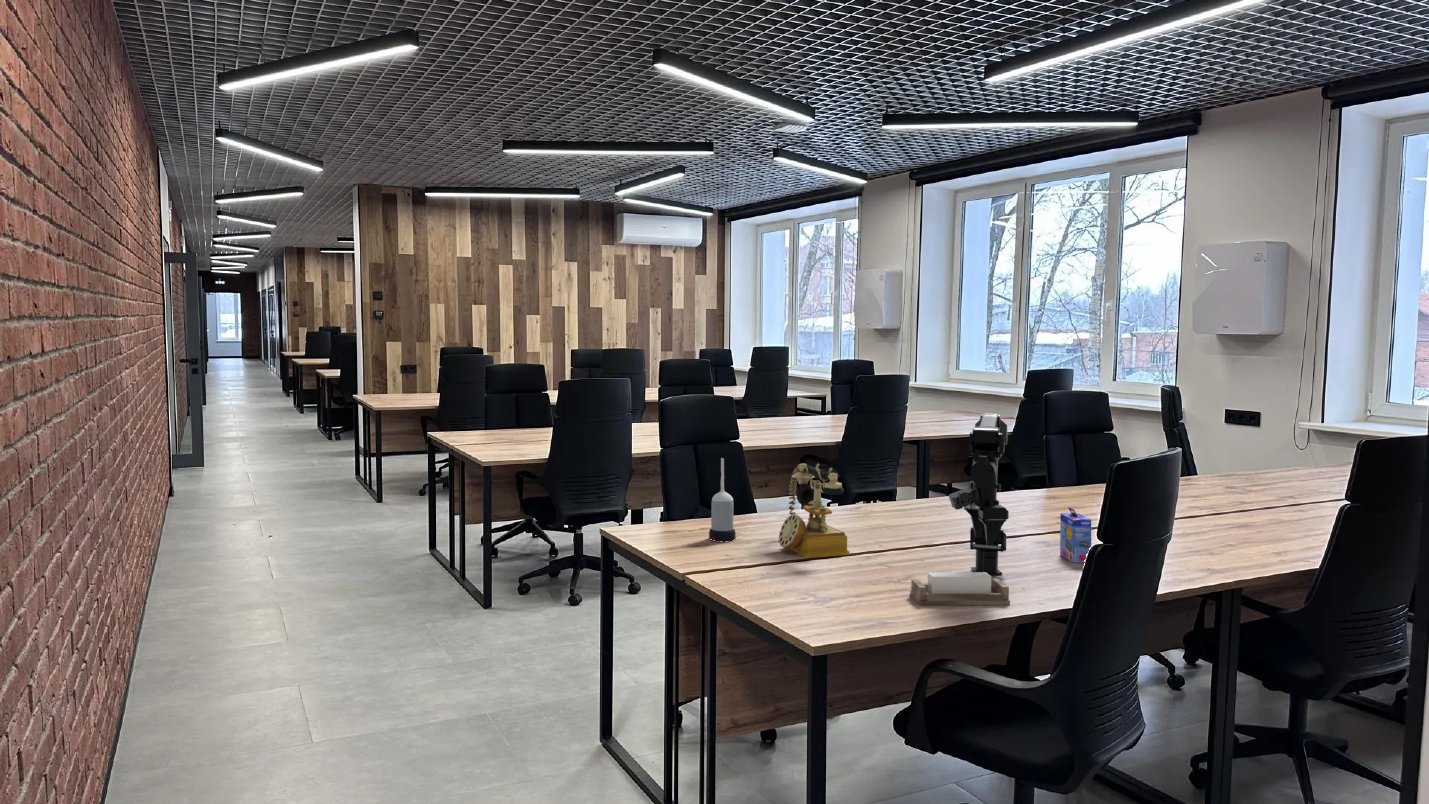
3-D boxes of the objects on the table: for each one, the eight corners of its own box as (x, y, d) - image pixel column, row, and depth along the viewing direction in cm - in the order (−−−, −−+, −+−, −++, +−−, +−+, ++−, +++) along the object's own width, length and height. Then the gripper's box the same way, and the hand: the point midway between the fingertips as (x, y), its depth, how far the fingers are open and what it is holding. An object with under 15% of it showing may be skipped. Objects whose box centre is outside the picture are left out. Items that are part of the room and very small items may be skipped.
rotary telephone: (754, 538, 299) (754, 457, 297) (806, 534, 304) (807, 455, 303) (800, 563, 265) (801, 473, 264) (858, 559, 271) (859, 470, 269)
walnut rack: (910, 594, 234) (910, 577, 234) (995, 593, 235) (996, 577, 235) (920, 605, 224) (920, 588, 224) (1010, 604, 225) (1010, 588, 225)
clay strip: (927, 593, 232) (928, 572, 231) (985, 592, 232) (985, 572, 232) (932, 597, 228) (932, 576, 227) (990, 597, 228) (991, 576, 228)
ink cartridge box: (1058, 554, 277) (1059, 504, 276) (1077, 554, 278) (1078, 504, 277) (1072, 563, 268) (1073, 511, 267) (1091, 562, 268) (1093, 511, 267)
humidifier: (706, 541, 294) (706, 459, 292) (712, 536, 302) (712, 456, 300) (732, 542, 292) (732, 460, 290) (738, 537, 300) (738, 457, 298)
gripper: (942, 473, 247) (941, 533, 248) (963, 485, 228) (962, 550, 230) (985, 472, 247) (984, 533, 249) (1010, 484, 229) (1008, 550, 230)
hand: (983, 541), depth 239 cm, fingers open, 9 cm apart
